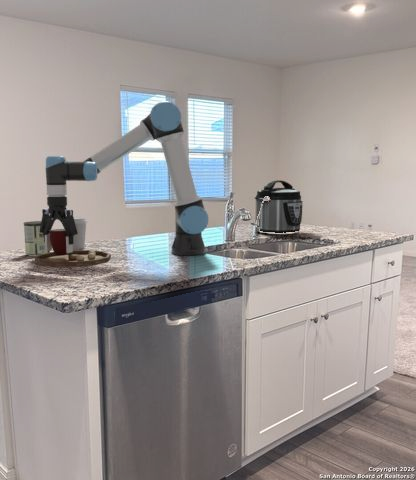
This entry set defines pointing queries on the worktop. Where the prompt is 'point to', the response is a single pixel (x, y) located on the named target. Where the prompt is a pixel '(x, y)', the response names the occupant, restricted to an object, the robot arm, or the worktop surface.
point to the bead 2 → (91, 256)
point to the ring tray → (71, 258)
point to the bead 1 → (80, 258)
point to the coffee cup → (79, 233)
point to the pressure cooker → (279, 208)
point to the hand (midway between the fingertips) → (59, 251)
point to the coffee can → (34, 239)
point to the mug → (58, 241)
